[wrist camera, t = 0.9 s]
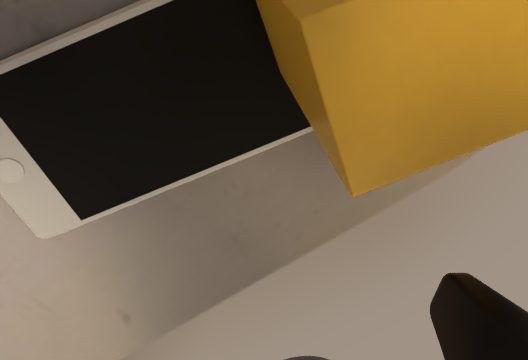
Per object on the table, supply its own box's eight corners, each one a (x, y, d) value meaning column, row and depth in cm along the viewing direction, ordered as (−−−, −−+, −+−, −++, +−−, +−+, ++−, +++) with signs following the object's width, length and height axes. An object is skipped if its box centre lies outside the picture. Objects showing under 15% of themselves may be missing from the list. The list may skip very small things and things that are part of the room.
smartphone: (-73, 92, 17) (-84, 103, 16) (329, -83, 16) (338, -80, 16) (45, 230, 21) (41, 244, 20) (373, 95, 20) (381, 104, 20)
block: (385, 24, 19) (532, 129, 11) (277, 67, 19) (351, 199, 11) (361, -103, 16) (531, -75, 9) (236, -51, 16) (299, 19, 9)
